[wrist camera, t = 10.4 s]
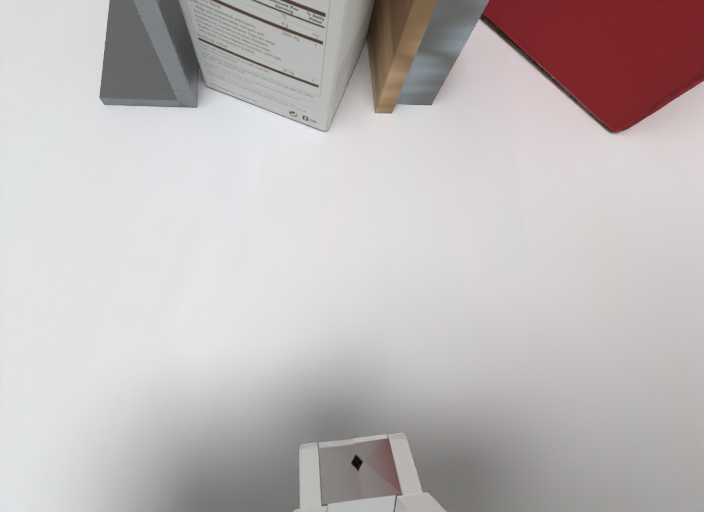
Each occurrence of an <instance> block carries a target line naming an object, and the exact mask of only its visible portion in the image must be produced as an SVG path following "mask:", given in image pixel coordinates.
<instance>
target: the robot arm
mask: <svg viewBox="0 0 704 512" xmlns="http://www.w3.org/2000/svg"><path fill="white" fill-rule="evenodd" d="M299 482H300V509H295V510H294V511H293V512H447V511H446V510H445V509H444V508H443V507H442V506H441V505H440V504H439V503H438V502H437V501H436V500H435V499H434V498H433V497H432V496H431V495H430V493H429V492H423V491H422V488H421V484H420V481H419V477H418V474H417V471H416V467H415V464H414V460H413V457H412V453H411V450H410V447H409V443H408V440H407V437H406V435H405V434H404V433H403V432H402V433H394V434H383V435H375V436H367V437H359V438H352V439H345V440H335V441H326V442H314V443H305V444H300V447H299Z"/></svg>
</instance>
